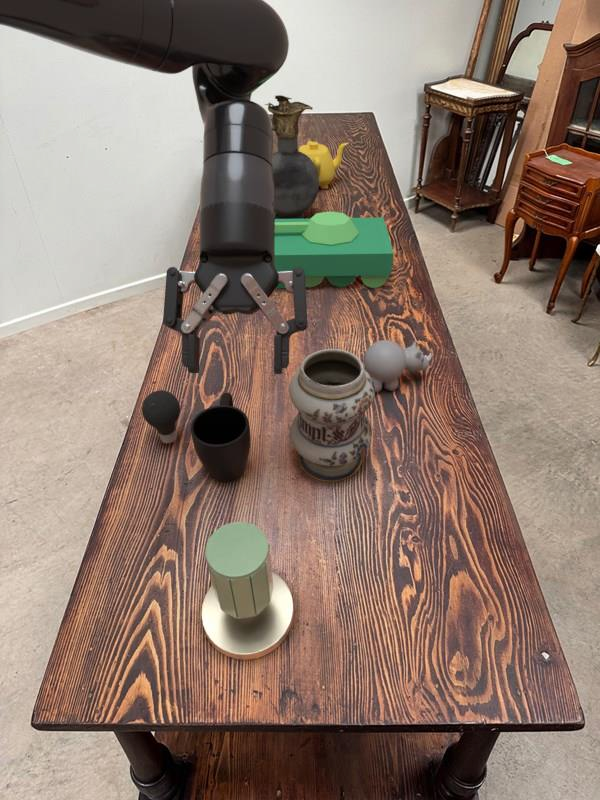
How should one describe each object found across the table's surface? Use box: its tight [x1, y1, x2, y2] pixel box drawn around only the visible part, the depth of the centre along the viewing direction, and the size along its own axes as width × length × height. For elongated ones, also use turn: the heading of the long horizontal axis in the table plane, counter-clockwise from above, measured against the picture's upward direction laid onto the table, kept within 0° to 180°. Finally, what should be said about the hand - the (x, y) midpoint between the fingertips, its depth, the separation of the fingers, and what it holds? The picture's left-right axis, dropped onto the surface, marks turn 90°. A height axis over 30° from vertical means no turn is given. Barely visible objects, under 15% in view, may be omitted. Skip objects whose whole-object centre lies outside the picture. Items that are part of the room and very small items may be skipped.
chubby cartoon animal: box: [363, 339, 433, 393], centre depth 93 cm, size 7×12×8 cm, turn 96°
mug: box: [189, 392, 252, 484], centre depth 80 cm, size 8×12×10 cm
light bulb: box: [141, 389, 181, 444], centre depth 83 cm, size 6×6×10 cm
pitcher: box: [264, 94, 320, 219], centre depth 135 cm, size 11×19×30 cm, turn 95°
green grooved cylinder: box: [204, 521, 274, 619], centre depth 58 cm, size 6×7×9 cm
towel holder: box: [200, 570, 295, 661], centre depth 60 cm, size 11×11×14 cm
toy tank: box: [274, 210, 394, 289], centre depth 121 cm, size 18×12×35 cm
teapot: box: [298, 140, 349, 190], centre depth 158 cm, size 14×14×12 cm
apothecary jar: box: [288, 348, 376, 483], centre depth 77 cm, size 12×12×18 cm
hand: (236, 373), depth 54 cm, fingers open, 8 cm apart
